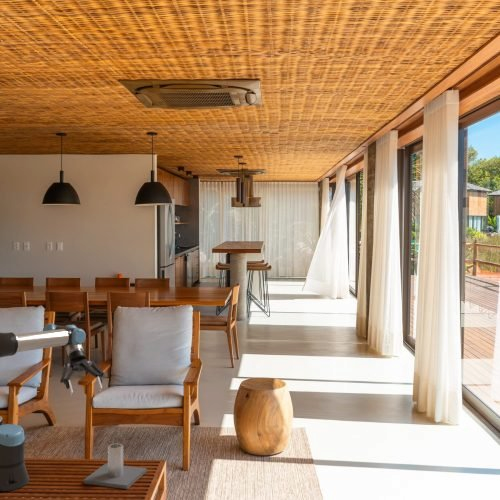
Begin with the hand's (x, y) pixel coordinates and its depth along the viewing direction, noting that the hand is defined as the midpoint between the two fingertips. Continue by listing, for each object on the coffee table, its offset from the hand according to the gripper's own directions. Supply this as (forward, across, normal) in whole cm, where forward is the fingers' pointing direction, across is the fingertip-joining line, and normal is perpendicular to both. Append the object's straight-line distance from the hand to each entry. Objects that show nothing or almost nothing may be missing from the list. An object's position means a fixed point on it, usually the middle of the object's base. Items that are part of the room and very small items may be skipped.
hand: (86, 391), depth 260 cm
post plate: (+41, -4, -4) cm, 41 cm away
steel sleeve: (+39, -4, -3) cm, 40 cm away
